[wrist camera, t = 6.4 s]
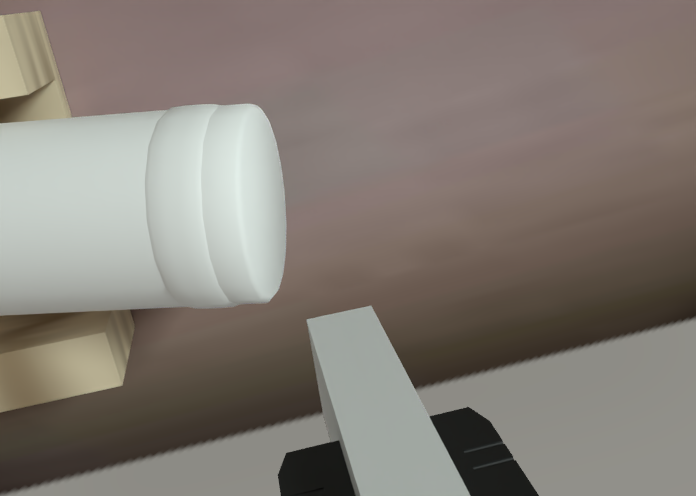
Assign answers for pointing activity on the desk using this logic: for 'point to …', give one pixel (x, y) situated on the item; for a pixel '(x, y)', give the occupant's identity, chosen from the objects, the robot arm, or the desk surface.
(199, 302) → the bottle
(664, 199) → the desk surface
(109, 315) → the bottle rest
